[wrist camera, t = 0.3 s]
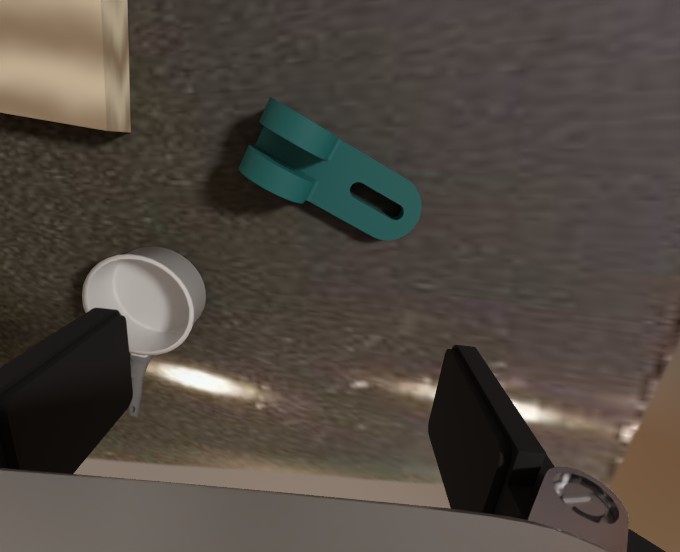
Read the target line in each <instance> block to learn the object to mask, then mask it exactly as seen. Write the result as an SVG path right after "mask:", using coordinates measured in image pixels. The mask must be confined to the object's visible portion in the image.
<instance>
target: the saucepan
mask: <svg viewBox="0 0 680 552" xmlns="http://www.w3.org/2000/svg"><path fill="white" fill-rule="evenodd" d="M82 301H83V307H84V310H85V313H87V312H88V311H90V310H91V309H93V308H105V309H115V310H118V311H119V312H120V314H121V315H123V316H125V318H126V323H127V334H128V344H129V353H131V354H130V359H131V362H132V363H131V377H132V388H133V398H132V401H131V404H130V405H129V407H128V415H129V416H134V417H138V416H139V414H140V405H141V395H142V385H143V376H144V374H145V371H146V368H147V366H148V364H149V362H150V360H151V359H152V355H159V354H163V353H167V352H169V351H171V350H173V349H175V348H176V347H178V346H179V345H180V344H182V343H183V341H184V340H185V339H186V338H187V337H188V335H189V333H190V331H191V329H192V325H193V324H194V323H195V322H196V320H197V319H198V318H199V317H200V315H201V313H202V311H203V309H204V306H205V302H206V291H205V286H204V283H203V280H202V278H201V276H200V274H199V273H198V271H197V270H196V268H195V267H194V266H193V265H192V264H191V263H190V262H189V261H188V260H187V259H186V258H184V257H183V256H182V255H180V254H178V253H176V252H174V251H172V250H169V249H166V248H163V247H155V246H150V247H142V248H138V249H135V250H133V251H131V252H129V253H127V254H124V255H117V256H113V257H109V258H107V259H105V260H103V261H101V262H99V263H98V264H97V265H96V266H95V267H93V268H92V269H91V271H90V272H89V274H88V275H87V277H86V279H85V282H84V285H83V290H82Z"/></svg>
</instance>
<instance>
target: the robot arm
mask: <svg viewBox="0 0 680 552" xmlns="http://www.w3.org/2000/svg"><path fill="white" fill-rule="evenodd" d="M132 398H133V388H132V377H131V366H130V355H129V344H128V334H127V323H126V318H125V316H123V315H121V314H120V312H119V311H118V310H115V309H105V308H93V309H91V310H90V311H88V312H87V313H85V314H83V315H82V316H80V317H79V318H77V319H76V320H74V321H73V322H71V323H69V324H68V325H66V326H65V327H63V328H62V329H60V330H58V331H57V332H55V333H54V334H52V335H51V336H49V337H47V338H46V339H44V340H43V341H41V342H40V343H38V344H37V345H35V346H33V347H32V348H30V349H29V350H27V351H26V352H24V353H22V354H21V355H19V356H18V357H16V358H15V359H13V360H12V361H10V362H8V363H7V364H5V365H4V366H2V367H1V368H0V552H665V551H664V550H662V549H660V548H659V547H657V546H656V545H654V544H652V543H651V542H649V541H647V540H646V539H644V538H643V537H641V536H639V535H638V534H637V533H635V532H633V531H632V530H630V529H629V518H628V512H627V511H626V509H625V507H624V505H623V503H622V502H621V501H620V500H619V498H618V497H617V496H616V495H615V494H614V493H613V492H612V491H611V490H610V489H609V488H608V487H606V486H605V485H604V484H603V483H602V482H600V481H598V480H597V479H595V478H594V477H592V476H590V475H588V474H586V473H584V472H582V471H579V470H577V469H573V468H569V467H554V465H553V464H552V462H551V461H550V459H549V458H548V456H547V455H546V452H545V451H544V449H543V448H542V446H541V445H540V443H539V442H538V440H537V439H536V437H535V436H534V434H533V433H532V431H531V430H530V428H529V427H528V425H527V424H526V422H525V421H524V419H523V418H522V416H521V415H520V413H519V412H518V410H517V409H516V407H515V406H514V404H513V403H512V401H511V400H510V398H509V397H508V395H507V394H506V392H505V391H504V389H503V388H502V386H501V385H500V383H499V382H498V380H497V379H496V377H495V376H494V374H493V373H492V371H491V370H490V368H489V367H488V365H487V364H486V362H485V361H484V359H483V358H482V356H481V355H480V353H479V352H478V350H477V349H476V348H475V347H471V346H461V345H454V346H453V348H452V349H447V351H446V353H445V356H444V361H443V365H442V369H441V373H440V377H439V382H438V386H437V390H436V394H435V398H434V402H433V407H432V411H431V415H430V419H429V424H428V432H429V437H430V440H431V444H432V447H433V450H434V454H435V457H436V460H437V464H438V467H439V470H440V474H441V477H442V480H443V484H444V487H445V490H446V494H447V497H448V500H449V503H450V507H451V509H448V508H438V507H428V506H417V505H407V504H396V503H386V502H376V501H366V500H356V499H345V498H334V497H324V496H314V495H304V494H293V493H282V492H270V491H260V490H249V489H238V488H227V487H216V486H205V485H193V484H182V483H171V482H160V481H148V480H136V479H124V478H112V477H101V476H88V475H76V474H73V473H74V472H75V471H76V470H77V469H78V467H79V466H80V465H81V463H82V462H83V461H84V460H85V459H86V458H87V457H88V455H89V454H90V453H91V452H92V450H93V449H94V448H95V447H96V446H97V444H98V443H99V442H100V441H101V440H102V438H103V437H104V436H105V435H106V434H107V432H108V431H109V430H110V429H111V428H112V426H113V425H114V424H115V423H116V422H117V420H118V419H119V418H120V417H121V416H122V414H123V413H124V412H125V411H126V409H127V408H128V407H129V405H130V404H131V401H132Z"/></svg>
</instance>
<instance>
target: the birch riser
mask: <svg viewBox="0 0 680 552" xmlns="http://www.w3.org/2000/svg"><path fill="white" fill-rule="evenodd" d="M0 113H6V114H12V115H18V116H24V117H29V118H35V119H41V120H47V121H53V122H58V123H64V124H70V125H76V126H82V127H88V128H93V129H99V130H105V131H116V132H130V133H131V124H130V84H129V44H128V4H127V0H0Z"/></svg>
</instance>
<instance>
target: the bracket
mask: <svg viewBox="0 0 680 552" xmlns="http://www.w3.org/2000/svg"><path fill="white" fill-rule="evenodd" d="M259 122H260V123H261V124H262V125H264V127H263V129H262V131H261V134H260V136H259V138H258V140H257V142H256V145H248V148H247V150H246V152H245V154H244V157H243V159H242V161H241V163H240V166H239V168H238V169H239V171H240V172H241V173H242V174H243V175H244V176H245V177H247V178H248V179H250V180H251V181H252V182H254V183H256V184H257V185H259V186H261V187H262V188H264V189H266V190H268V191H270V192H272V193H274V194H276V195H278V196H280V197H282V198H285V199H287V200H290V201H293V202H296V203H304V202H305V200H307V201H309V202H311V203H313V204H315V205H316V206H318V207H320V208H322V209H324V210H325V211H327V212H329V213H331V214H333V215H334V216H336V217H338V218H340V219H342V220H343V221H345V222H347V223H349V224H351V225H352V226H354V227H356V228H358V229H360V230H361V231H363V232H365V233H367V234H369V235H370V236H372V237H374V238H377V239H380V240H394V239H398V238H401V237H403V236H405V235H406V234H408V233H409V232H410V231H411V230H412V229H413V228H414V227H415V225H416V224H417V222H418V220H419V217H420V214H421V198H420V195H419V193H418V191H417V189H416V187H415V186H414V185H413V184H412V183H411V182H410V181H409V180H407V179H406V178H404V177H402V176H401V175H399V174H397V173H395V172H394V171H392V170H390V169H389V168H387V167H385V166H384V165H382V164H380V163H379V162H377V161H375V160H374V159H372V158H370V157H369V156H367V155H365V154H364V153H362V152H360V151H359V150H357V149H355V148H353V147H352V146H350V145H348V144H347V143H345V142H343V141H342V140H340V139H338V138H337V137H336V136H335V135H333V134H332V133H330V132H328V131H327V130H325V129H323V128H322V127H320V126H319V125H317V124H315V123H314V122H312V121H310V120H309V119H307V118H305V117H304V116H302V115H300V114H299V113H297V112H295V111H294V110H292V109H290V108H288V107H287V106H285V105H283V104H282V103H280V102H278V101H276V100H275V99H273V98H271V97H270V98H269V101H268V103H267V105H266V107H265V110H264V112H263V114H262V116H261V119H260V121H259ZM356 182H361V183H363V184H365V185H366V186H368V187H370V188H372V189H373V190H375V191H377V192H378V193H380V194H382V195H384V196H385V197H387V198H389V199H390V200H392V201H394V202H396V203H397V204H399V205H400V206H401V211H400V213H399V214H398V215H397V216H395V217H391V216H388V215H387V214H385V213H383V212H381V211H380V210H378V209H376V208H374V207H373V206H371V205H369V204H367V203H366V202H364V201H362V200H360V199H359V198H357V197H355V196H353V195H352V194H351V193H350V187H351V186H352V184H354V183H356Z"/></svg>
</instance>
